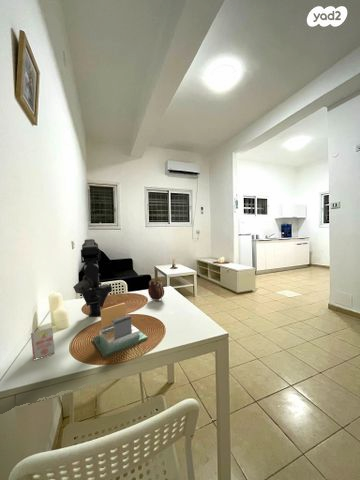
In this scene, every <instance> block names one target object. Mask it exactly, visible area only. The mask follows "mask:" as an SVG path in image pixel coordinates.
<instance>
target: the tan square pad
mask: <svg viewBox="0 0 360 480" xmlns="http://www.w3.org/2000/svg"><path fill="white" fill-rule="evenodd" d="M126 306H127V305H126V302H122V303H118V304H115V305H111V306H108V307H105V308H102V309H101V308H100V309H101V310H100V311H101V315H100V321H101V322H100V323H101V330H105V329H108V328H111V327H114V324H113V323H112V320H114V319H117V318H120V317H123V316H126V315H127V307H126Z"/></svg>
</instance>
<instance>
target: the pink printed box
mask: <svg viewBox="0 0 360 480" xmlns="http://www.w3.org/2000/svg"><path fill="white" fill-rule="evenodd" d="M30 336H31V348H32V349H31V350H32V359H33V361H34V359H36V358H40V359H42V358H41V357H43V358H45V357H44V356H46V357H48V356H47V355H49V356H51V355H50V354H52V355H54V354H55V342H54V332H53V326H52V327H51V326H50V327H47V328H44V329H41V330H37V331H33V332H31V333H30ZM53 353H54V354H53Z"/></svg>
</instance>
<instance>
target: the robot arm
mask: <svg viewBox="0 0 360 480" xmlns="http://www.w3.org/2000/svg"><path fill="white" fill-rule="evenodd" d="M101 254H102V253H101V250H100V248H99V244H98V243H97V242H96V241H95V239H94V238H93V239H85V240H84V243H83V244H82V245H81V248H80V259H81V260H80V263H81V264H84V270H83V274H84V275H83V276H82V280H81V281H79V282H77V283H76V284H74V286H73V290H74V292H75V294H80V295H82V297H83V299H84V302H85V303H86V304H85V305H86V307H89V313H88V318H89V317H94V316H101V311H100V310H101V308H102V307H103V306H104V303H105V301H106V299H107V297H108V294H109V293H111V292H113V288H112V287H113V286H111V284H102V282H100V277H101V276H102V274H101V273H99V272H100V270H99V269H100V268H99V263H98V262H101V259H102V255H101Z"/></svg>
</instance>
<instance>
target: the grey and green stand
mask: <svg viewBox="0 0 360 480" xmlns="http://www.w3.org/2000/svg"><path fill="white" fill-rule="evenodd" d="M112 323H113V324H114V327H111V328H108V329H105V330H102V329H101V330H99V335H97V336H94V337H92V342H93V343H94V344H95V346H96V347H97V349H98V351H99V352H100V354H101V355H102V357H104V359H106V358H108V357H110V356H112V355H115V354H117V353H119V352H121V351H124V350H126V349H128V348H130V347H133V346H134V345H137V344H139V343H142V342H144V341H146V340H148V336H147V335H146V334H144V333H143V332H142V331H140V329H138V328H137V327H135V326H134V325H133V324H132V316H131V315H129V314H126V316H123V317H120V318H117V319H114V320H112Z"/></svg>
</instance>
